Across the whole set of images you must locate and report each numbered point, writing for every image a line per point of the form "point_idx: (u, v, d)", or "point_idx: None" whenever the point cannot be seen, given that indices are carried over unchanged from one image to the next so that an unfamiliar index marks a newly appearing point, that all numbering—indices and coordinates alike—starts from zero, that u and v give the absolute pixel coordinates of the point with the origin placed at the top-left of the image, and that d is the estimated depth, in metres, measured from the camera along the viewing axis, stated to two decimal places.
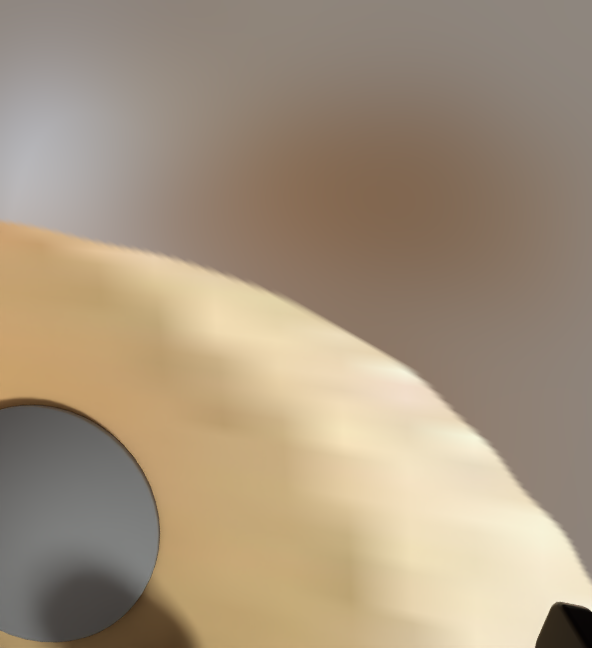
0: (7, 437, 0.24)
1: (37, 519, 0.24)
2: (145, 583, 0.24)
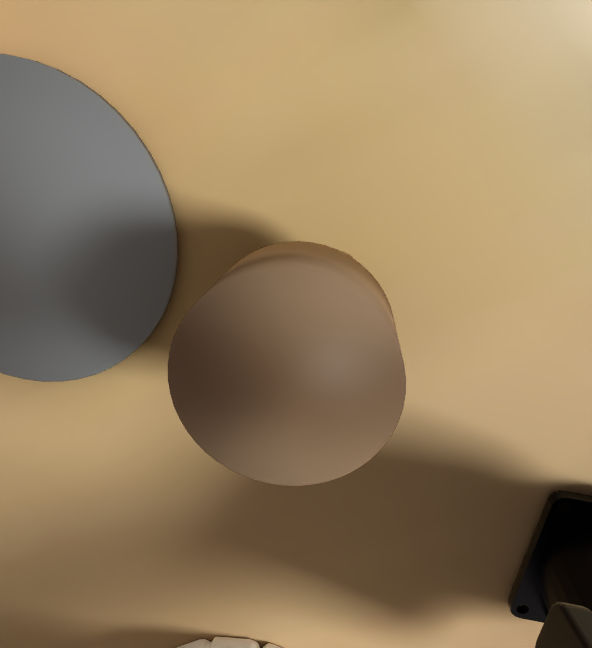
0: None
1: (9, 224, 0.18)
2: (164, 199, 0.17)
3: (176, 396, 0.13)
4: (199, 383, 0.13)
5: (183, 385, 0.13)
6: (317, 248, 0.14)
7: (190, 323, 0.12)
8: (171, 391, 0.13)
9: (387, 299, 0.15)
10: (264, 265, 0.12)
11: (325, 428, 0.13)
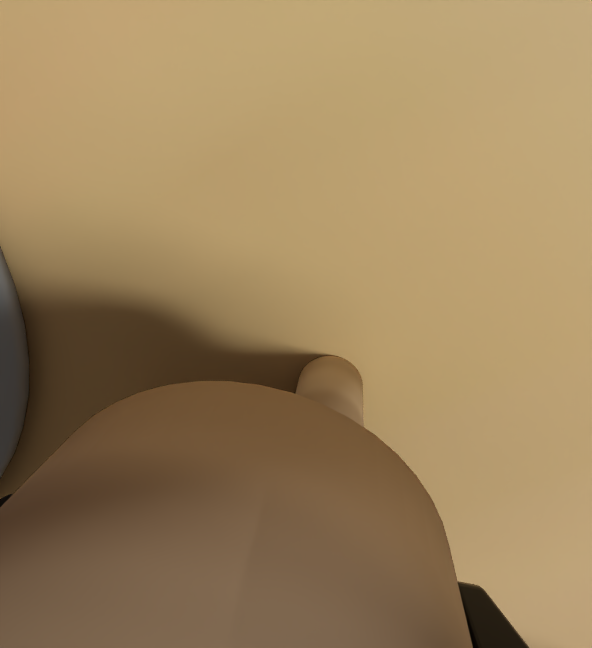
0: None
1: None
2: None
3: None
4: None
5: None
6: (266, 415, 0.06)
7: None
8: None
9: (437, 512, 0.06)
10: (52, 568, 0.04)
11: None
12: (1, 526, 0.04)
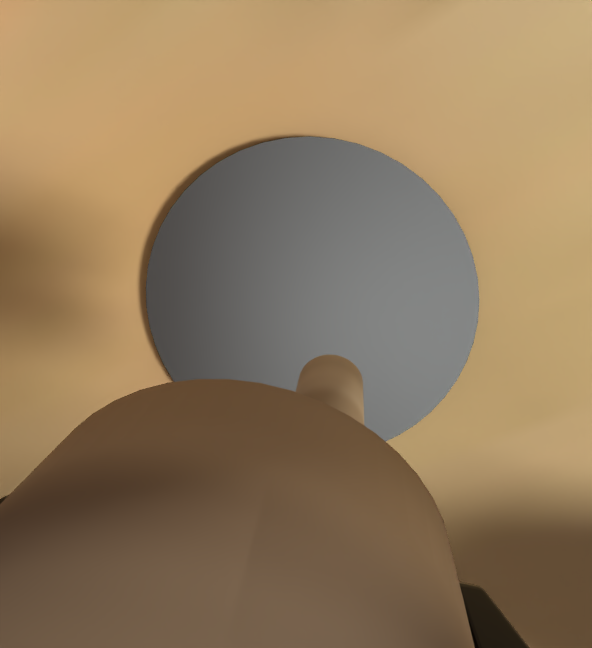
0: (201, 235, 0.17)
1: (300, 303, 0.18)
2: (475, 282, 0.17)
3: None
4: None
5: None
6: (266, 413, 0.05)
7: None
8: None
9: (438, 511, 0.06)
10: (49, 567, 0.03)
11: None
12: None
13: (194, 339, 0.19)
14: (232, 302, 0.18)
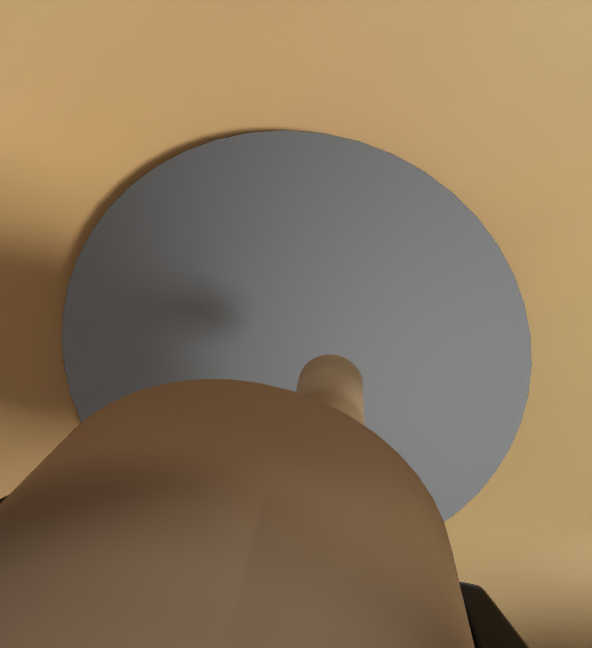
0: (135, 271, 0.12)
1: (276, 365, 0.13)
2: (527, 340, 0.12)
3: None
4: None
5: None
6: (266, 413, 0.05)
7: None
8: None
9: (438, 511, 0.06)
10: (49, 567, 0.03)
11: None
12: None
13: None
14: (182, 363, 0.13)
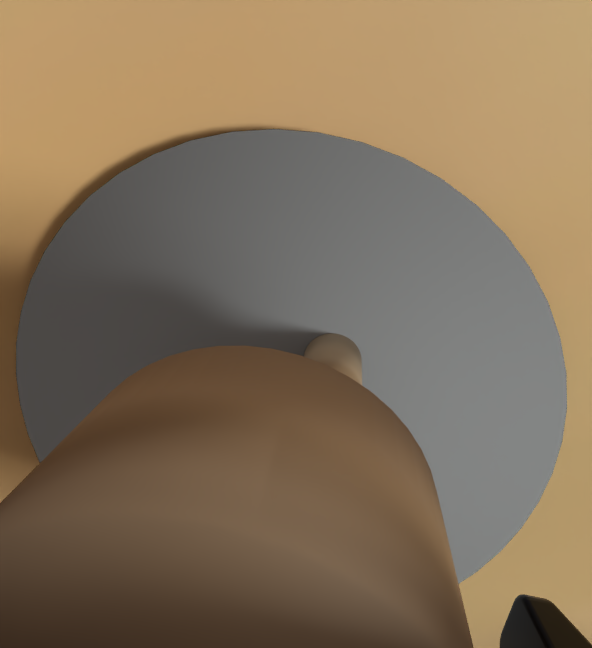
0: (98, 296, 0.10)
1: None
2: (562, 379, 0.10)
3: None
4: None
5: None
6: (279, 371, 0.06)
7: None
8: None
9: None
10: (118, 471, 0.04)
11: None
12: (66, 451, 0.05)
13: None
14: None
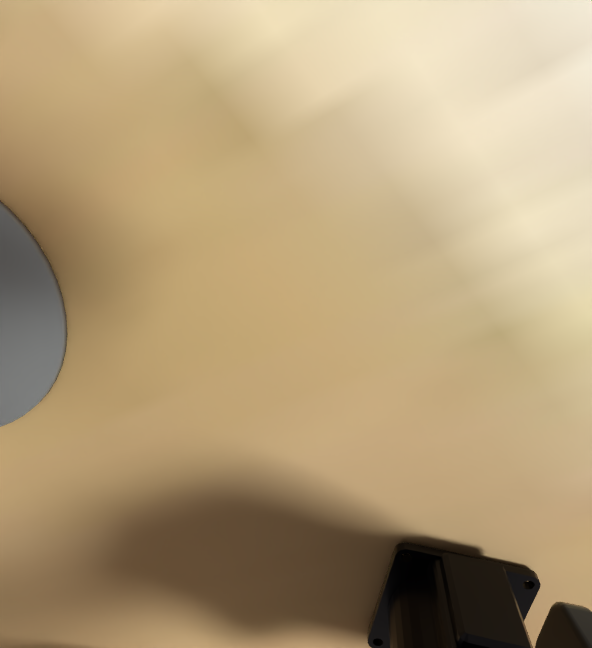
0: None
1: None
2: (50, 285, 0.20)
3: None
4: None
5: None
6: None
7: None
8: None
9: None
10: None
11: None
12: None
13: None
14: None
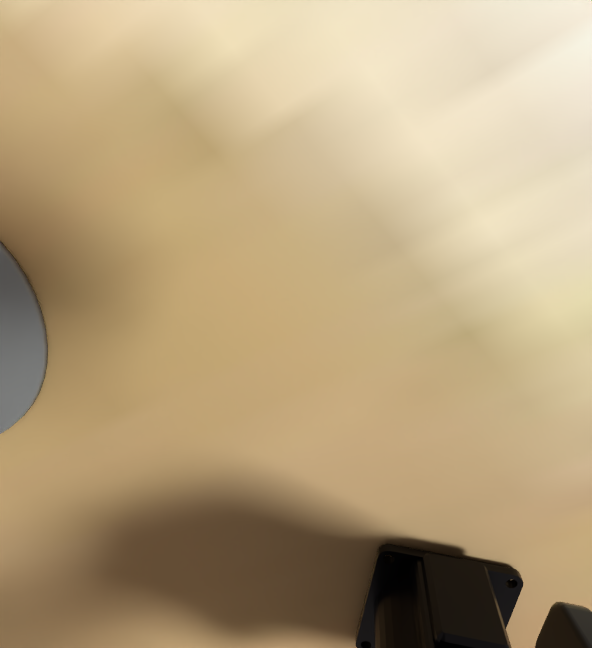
0: None
1: None
2: (29, 300, 0.20)
3: None
4: None
5: None
6: None
7: None
8: None
9: None
10: None
11: None
12: None
13: None
14: None
